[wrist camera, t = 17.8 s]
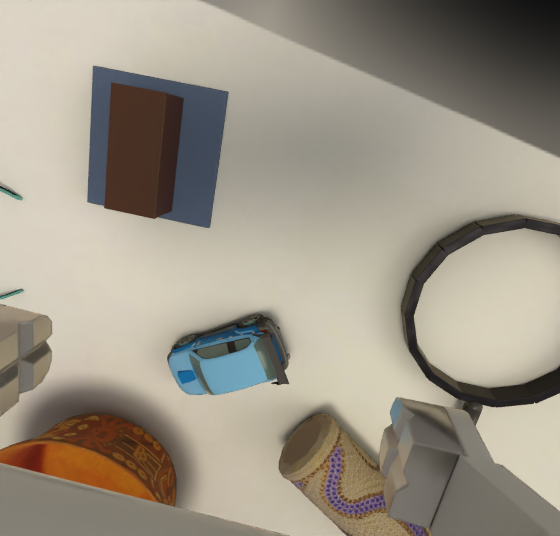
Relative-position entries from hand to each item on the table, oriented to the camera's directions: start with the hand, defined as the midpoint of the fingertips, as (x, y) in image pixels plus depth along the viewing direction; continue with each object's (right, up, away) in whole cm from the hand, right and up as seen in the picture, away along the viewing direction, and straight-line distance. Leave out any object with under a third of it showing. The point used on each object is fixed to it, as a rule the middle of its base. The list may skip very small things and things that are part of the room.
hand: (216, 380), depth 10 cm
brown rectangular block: (-10, +13, +28) cm, 32 cm away
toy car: (-3, -6, +33) cm, 34 cm away
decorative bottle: (+11, -23, +36) cm, 44 cm away
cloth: (-10, +13, +28) cm, 32 cm away
